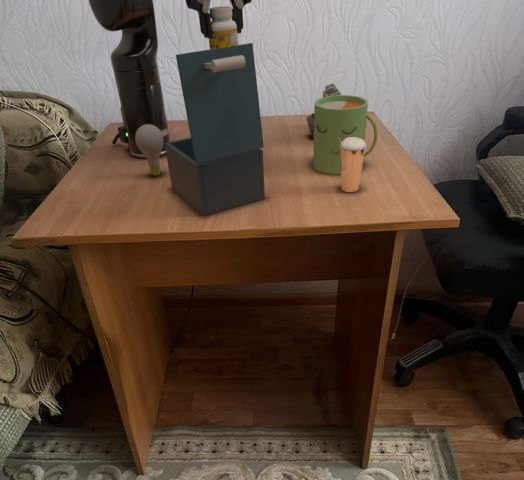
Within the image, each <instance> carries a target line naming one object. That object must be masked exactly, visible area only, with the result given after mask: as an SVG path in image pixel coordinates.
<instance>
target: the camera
mask: <svg viewBox="0 0 524 480" xmlns="http://www.w3.org/2000/svg"><path fill="white" fill-rule="evenodd" d="M335 95H342V92H340V90H339V89H338V88H337V86H336V84H334V83H330V84H328V85H325V87H324V90H322V98H323V97H327V96H335ZM306 121H307V122H306V123H307V127H308V129H309V133H310V135H311V138H312V139H314V113H311V114H310V115H308V116H306Z"/></svg>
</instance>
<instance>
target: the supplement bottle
mask: <svg viewBox="0 0 524 480" xmlns="http://www.w3.org/2000/svg"><path fill="white" fill-rule="evenodd" d="M232 9H233V7H232V6H214V7H209V11H208V13H210V17H211V28H212V38H208V45H209V50H210V49H216V48H222V47H229V46H235V45H239V38H238V35H239V34H237V25H236V23H235V22H234V21H233V20H232Z"/></svg>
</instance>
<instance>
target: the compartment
mask: <svg viewBox="0 0 524 480" xmlns="http://www.w3.org/2000/svg"><path fill="white" fill-rule="evenodd" d="M165 149H166V154H165V156H166V161H167V166H168V172H169V179H170V184H171V190H173V192H175V193H176V194H177V195H179V196H180V197H181V198H182V199H183V200H184V201H185V202H186V203H188V204H189V205H190V206H191V207H193V208H194V209H195V210H196V211H197V212H198V213H199V214H200V215H201V216H203V217H206V216H210V215H212V214H216V213H219V212H222V211H227V210H230V209H233V208H238V207H240V206H244V205H247V204H251V203H254V202H257V201H261V200H264V199H265V198H266V194H265V193H266V191H265V172H264V150H263V149H262V148H260V149H256V150H252V151H248V152H244V153H240V154H236V155H232V156H228V157H224V158H220V159H215V160H211V161H207V162H203V163H199V164H196V163H195V157H194V152H193V146H192V141H191V136H190V137H185V138H181V139H176V140H170V142H167V143H165Z"/></svg>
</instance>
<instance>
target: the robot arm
mask: <svg viewBox="0 0 524 480" xmlns="http://www.w3.org/2000/svg"><path fill="white" fill-rule="evenodd" d="M87 1H88V5H89V6H90V10H91V12H92V15H93V16H94V18H95V20H96V21H97V24H98V25H99V26H101V27H102V28H103V29H104V30H106V31H108V32H120V31H121V38H120V41H119V43H118V44H117V46H116V47H115V48H114V49H113V50H112V51H111V54H110V61H111V67H112V70H113V71H112V72H113V75H114V80H115V84H116V88H117V93H118V98H119V102H120V103H119V104H120V107H119V109H120V114H121V119H122V123H123V125H122V126H118V127H117V132H118V133H117V134H116V135H115V136H114V137H113V139H112V142H111V144H112V145H113V146H115V145H116V144H117V141H118V140H120V142H121V143H124V144H127V145H128V146H127V147H128V150H129V152H130V156H133V157H135V158H139V159H140V158H142V159H147V158H146V157H145V156H144V154H143V153H142V152H141V151H140V149H139V148H138V146H137V144H136V140H135V136H136V132H137V130H138V129H139V128H140V127H141V126H143V125H146V124H150V125H154V126H156V127H157V128H158V129H159V130H160V131H161V133H162V135H163V139H164V142H163V147H162V150H161V153H160V156H159V157H162V156H166V149H165V143H167V142H171V139H170V132H169V126H168V119H167V114H166V108H165V101H164V95H163V88H162V82H161V76H160V71H159V65H158V58H157V57H158V50H159V42H158V41H159V39H158V31H157V22H156V13H155V5H154V0H87ZM211 1H212V0H185V4H186V7H187V9H189V10H193V11H195V12H197V13H198V20H199V28H200V29H199V31H200V33H201V35H203V37H204V38H205V39H209V38H212V28H211V22H212V18H211V17H210V12H209V9H210V5H211ZM252 1H253V0H229V3H230V5H231V8H232V17H231V20H233V21H234V22H235V23H236V25H237V35H239V34H242V30H243V29H244V15H243V14H244V12H243V9H244V7H245V6H246V5H247V4H250V3H252Z"/></svg>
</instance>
